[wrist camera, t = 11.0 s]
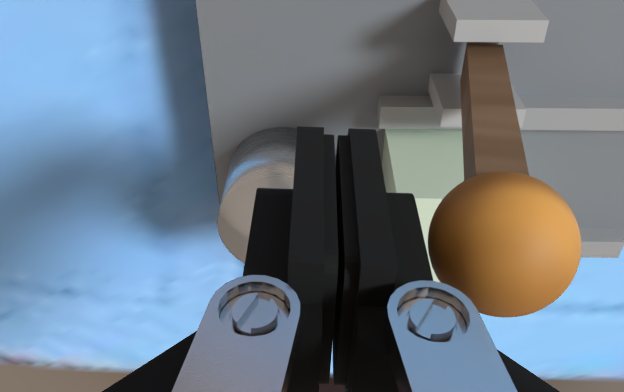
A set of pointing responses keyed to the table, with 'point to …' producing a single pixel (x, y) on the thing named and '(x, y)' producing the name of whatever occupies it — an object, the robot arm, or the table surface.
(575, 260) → the lever
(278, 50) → the panel
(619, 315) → the table surface
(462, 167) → the slider green
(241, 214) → the button
